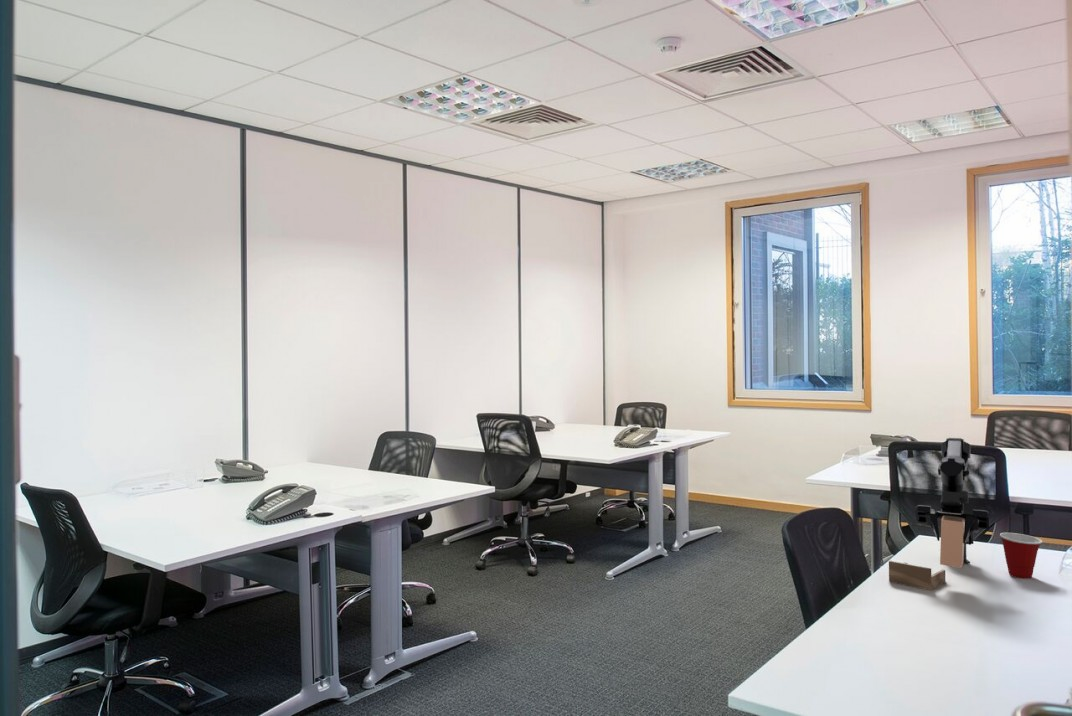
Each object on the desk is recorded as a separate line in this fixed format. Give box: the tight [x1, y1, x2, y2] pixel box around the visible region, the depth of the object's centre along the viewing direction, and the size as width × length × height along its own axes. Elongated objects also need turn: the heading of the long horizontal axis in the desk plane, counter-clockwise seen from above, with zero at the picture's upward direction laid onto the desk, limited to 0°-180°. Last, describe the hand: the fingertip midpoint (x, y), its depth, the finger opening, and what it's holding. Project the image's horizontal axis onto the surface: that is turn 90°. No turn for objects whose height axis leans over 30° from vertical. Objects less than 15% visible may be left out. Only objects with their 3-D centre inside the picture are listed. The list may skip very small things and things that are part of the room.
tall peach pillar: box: [939, 515, 965, 569], centre depth 216 cm, size 6×6×13 cm
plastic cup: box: [999, 532, 1043, 580], centre depth 225 cm, size 11×11×12 cm
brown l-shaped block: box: [888, 560, 946, 591], centre depth 221 cm, size 11×12×6 cm
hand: (951, 541), depth 214 cm, fingers closed on tall peach pillar, 6 cm apart
